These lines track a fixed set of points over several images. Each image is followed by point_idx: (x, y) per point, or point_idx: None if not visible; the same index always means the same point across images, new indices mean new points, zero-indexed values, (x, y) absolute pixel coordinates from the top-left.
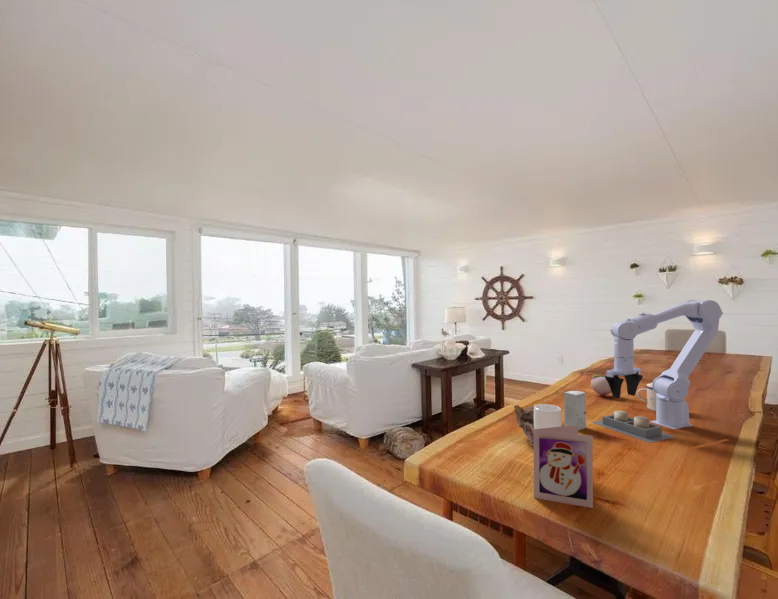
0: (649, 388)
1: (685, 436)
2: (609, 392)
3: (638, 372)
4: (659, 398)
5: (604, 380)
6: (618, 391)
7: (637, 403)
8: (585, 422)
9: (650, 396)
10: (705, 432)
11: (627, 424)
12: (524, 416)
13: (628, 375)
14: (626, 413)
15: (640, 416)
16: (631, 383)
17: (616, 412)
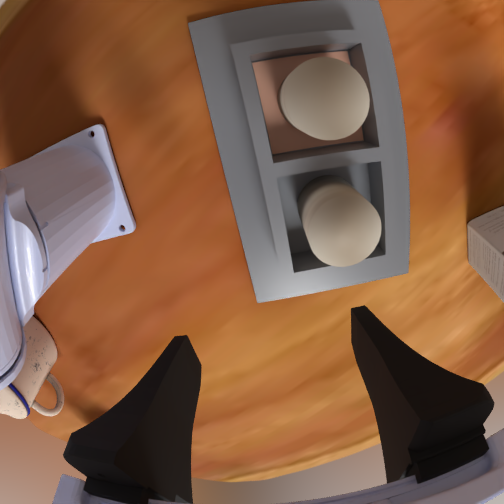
0: (24, 399)
1: (122, 49)
2: None
3: (79, 493)
4: (43, 253)
5: None
6: (394, 334)
7: (67, 387)
8: (484, 231)
9: (34, 375)
10: (20, 101)
11: (389, 126)
12: None
13: (175, 494)
14: (332, 207)
15: (302, 128)
16: (172, 424)
17: (372, 237)
